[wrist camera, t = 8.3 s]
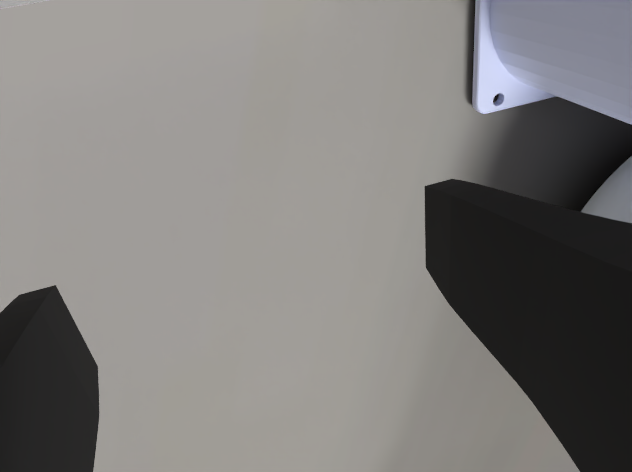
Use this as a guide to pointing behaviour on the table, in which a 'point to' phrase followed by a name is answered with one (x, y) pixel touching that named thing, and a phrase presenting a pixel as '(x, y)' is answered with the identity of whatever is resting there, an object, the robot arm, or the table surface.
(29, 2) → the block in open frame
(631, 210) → the serving bowl
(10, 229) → the table surface
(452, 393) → the table surface
